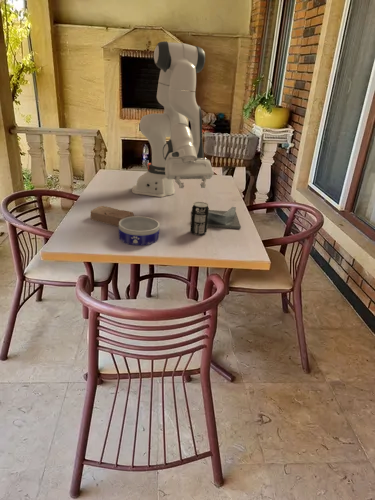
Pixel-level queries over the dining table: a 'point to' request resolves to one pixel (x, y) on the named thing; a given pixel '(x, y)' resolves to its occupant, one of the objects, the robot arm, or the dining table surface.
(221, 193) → the dining table surface
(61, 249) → the dining table surface
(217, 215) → the v block
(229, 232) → the dining table surface
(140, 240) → the dog bowl
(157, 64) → the robot arm
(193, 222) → the beverage can
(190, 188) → the dining table surface
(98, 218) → the brick
